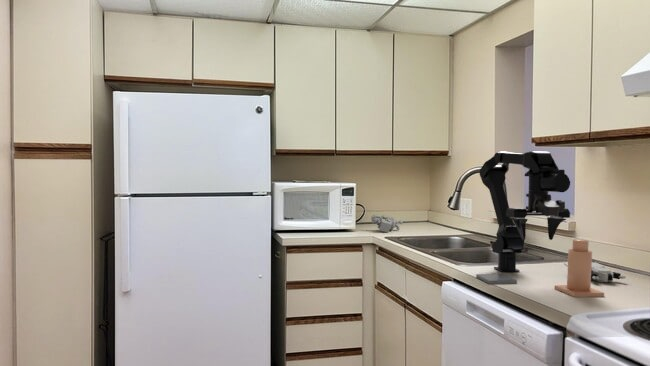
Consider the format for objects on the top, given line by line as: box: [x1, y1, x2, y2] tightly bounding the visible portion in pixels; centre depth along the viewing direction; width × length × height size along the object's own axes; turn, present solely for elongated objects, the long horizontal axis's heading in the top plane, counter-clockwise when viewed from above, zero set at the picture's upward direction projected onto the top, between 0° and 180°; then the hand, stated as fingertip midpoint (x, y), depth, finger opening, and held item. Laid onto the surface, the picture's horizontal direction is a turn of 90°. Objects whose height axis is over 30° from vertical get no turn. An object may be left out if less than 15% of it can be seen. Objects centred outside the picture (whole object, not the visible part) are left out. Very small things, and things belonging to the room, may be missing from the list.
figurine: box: [370, 214, 403, 234], centre depth 263 cm, size 11×13×18 cm
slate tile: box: [476, 273, 518, 285], centre depth 148 cm, size 9×9×1 cm
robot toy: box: [563, 261, 627, 283], centre depth 152 cm, size 12×4×15 cm
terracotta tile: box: [554, 284, 605, 298], centre depth 134 cm, size 9×9×1 cm
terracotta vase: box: [566, 238, 593, 291], centre depth 134 cm, size 6×6×14 cm
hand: (537, 239), depth 148 cm, fingers open, 9 cm apart
